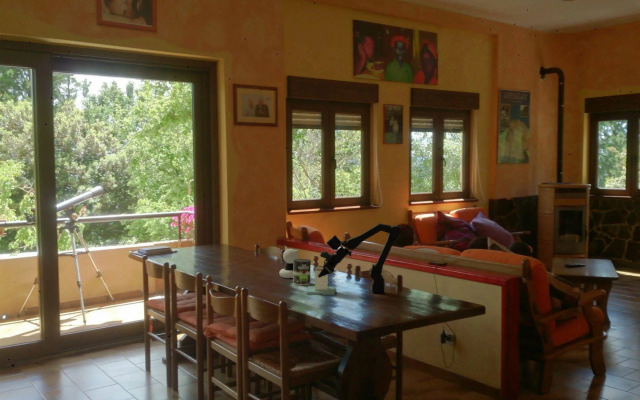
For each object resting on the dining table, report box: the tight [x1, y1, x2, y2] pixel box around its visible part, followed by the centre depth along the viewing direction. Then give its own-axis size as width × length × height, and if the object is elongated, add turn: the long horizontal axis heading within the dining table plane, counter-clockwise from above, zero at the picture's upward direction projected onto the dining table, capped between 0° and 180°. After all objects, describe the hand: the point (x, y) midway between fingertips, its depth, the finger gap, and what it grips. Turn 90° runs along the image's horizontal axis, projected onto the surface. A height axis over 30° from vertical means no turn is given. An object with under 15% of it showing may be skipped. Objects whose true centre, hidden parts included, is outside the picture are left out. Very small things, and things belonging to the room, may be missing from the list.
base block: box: [306, 285, 336, 296], centre depth 324 cm, size 15×15×2 cm
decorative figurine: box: [279, 245, 300, 279], centre depth 364 cm, size 15×15×20 cm
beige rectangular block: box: [314, 266, 329, 291], centre depth 324 cm, size 7×7×12 cm
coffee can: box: [292, 258, 312, 286], centre depth 344 cm, size 10×10×14 cm
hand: (318, 275), depth 324 cm, fingers open, 9 cm apart
